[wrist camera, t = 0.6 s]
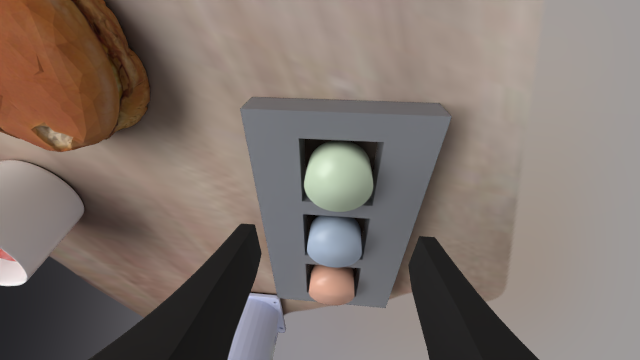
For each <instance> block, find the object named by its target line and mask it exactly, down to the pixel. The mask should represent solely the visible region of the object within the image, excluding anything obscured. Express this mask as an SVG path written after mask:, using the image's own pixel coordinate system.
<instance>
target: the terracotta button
mask: <svg viewBox="0 0 640 360" xmlns="http://www.w3.org/2000/svg"><path fill="white" fill-rule="evenodd" d="M309 294H310V296H311V297H312V298H313V299H314V300H315V301H317V302H319V303H322V304H326V305H343V304H346V303H349V302H350V301H352V300H353V298H354V272H353V270H352V269H351V267H340V268H334V267H327V266H323V265H315V266H314V267H313V268H312V272H311V279H310V287H309Z"/></svg>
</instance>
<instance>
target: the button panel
mask: <svg viewBox="0 0 640 360" xmlns="http://www.w3.org/2000/svg"><path fill="white" fill-rule="evenodd" d="M240 111H241V116H242V121H243V126H244V131H245V136H246V141H247V146H248V151H249V156H250V161H251V166H252V171H253V176H254V181H255V186H256V191H257V196H258V201H259V206H260V211H261V216H262V221H263V226H264V231H265V236H266V241H267V246H268V251H269V256H270V261H271V266H272V271H273V276H274V281H275V286H276V292H277V297H278V298H284V299H294V300H305V301H315V300H314V299H313V298H312V297H311V296H310V294H309V287H310V279H311V274H310V273H309V264H315V265H321V264H319V263H317V262H315V261H314V260H312V259H311V257H310V256H309V255H308V252H307V245H308V239H309V237H308V221H307V214H309V215H324V216H338V217H353V218H365V223H364V229H363V235H362V241H361V246H362V254H361V257H360V259H359V260H358V261H357V262H355V263H354V264H352V265H350V266H346V267H351V268H357V271H356V277H355V278H354V298H353V300H352V301H350V302H349V303H346V304H348V305H358V306H359V305H360V306H369V307H380V308H386V305H387V302H388V299H389V296H390V294H391V291H392V288H393V285H394V282H395V279H396V276H397V273H398V270H399V268H400V265H401V262H402V259H403V256H404V253H405V250H406V247H407V244H408V241H409V239H410V236H411V233H412V230H413V227H414V224H415V221H416V218H417V215H418V213H419V210H420V207H421V204H422V201H423V198H424V195H425V192H426V189H427V187H428V184H429V181H430V178H431V175H432V172H433V169H434V166H435V163H436V161H437V158H438V155H439V152H440V149H441V146H442V143H443V140H444V137H445V134H446V132H447V129H448V126H449V123H450V120H451V117H452V116H451V115H450V114H449V113H448V112H447V111H446V110H445V109H444V108H443V107H442V106H441V104H440V103H415V102H385V101H355V100H326V99H296V98H266V97H251V98H250V99H249V100H248V101H247V102H246V103H245V104H244V105H243V106H242V107H241V108H240ZM304 139H325V140H347V141H369V142H378V144H377V150H376V156H375V162H374V168H373V174H372V178H373V191H372V194H371V196H370V198H369V199H368V200H367V201H366V202H365V203H364V204H363V205H362V206H360V207H358V208H356V209H354V210H350V211H346V212H333V211H328V210H325V209H323V208H320V207H319V206H317V205H316V204H314V203H313V202H312V201H311V200H310V199H309V197H308V196H307V194H306V192H305V188H304V180H305V175H306V170H305V144H304ZM316 302H317V301H316Z"/></svg>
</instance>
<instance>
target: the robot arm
mask: <svg viewBox="0 0 640 360" xmlns="http://www.w3.org/2000/svg"><path fill="white" fill-rule="evenodd" d="M260 258H261V249H260V245H259V241H258V236H257V232H256V228H255V225H253V224H240V225H239V226H238V227H237V228H236V230H235V231H234V232H233V233H232V234H231V235H230V236H229V237H228V239H227V240H226V241H225V242H224V243H223V244H222V245H221V246H220V247H219V248H218V250H217V251H216V252H215V253H214V254H213V255H212V256H211V257H210V258H209V259H208V260H207V261H206V262H205V263H204V264H203V265H202V266H201V267H200V268H199V269H198V270H197V271H196V272H195V273H194V274H193V275H192V276H191V277H190V278H189V279H188V280H187V281H186V282H185V283H184V284H183V285H182V286H181V287H180V288H179V289H177V290H176V291H175V292H174V293H173V294H172V295H171V296H170V297H169V298H167V299H166V300H165V301H164V302H163V303H162V304H160V305H159V306H158V307H157V308H156V309H155V310H153V311H152V312H151V313H150V314H148V315H147V316H146V317H145V318H144V319H142V320H141V321H140V322H138V323H137V324H136V325H135V326H134V327H132V328H131V329H130V330H128V331H127V332H126V333H124V334H123V335H122V336H120V337H119V338H118V339H116V340H115V341H114V342H112V343H111V344H110V345H108V346H107V347H105V348H104V349H102V350H101V351H100V352H98V353H97V354H95V355H94V356H93V357H91V358H90V359H88V360H272V359H273V354H274V350H275V345H276V340H277V335H278V332H281V333H284V332H285V330H286V327H285V323H284V316H283V311H282V306H281V300H280V298H278V297H277V295H267V294H257V293H250V292H251V289H252V286H253V283H254V281H255V278H256V274H257V271H258V267H259V262H260ZM408 266H409V274H410V281H411V287H412V292H413V296H414V300H415V304H416V308H417V312H418V316H419V320H420V323H421V327H422V331H423V334H424V339H425V342H426V346H427V350H428V355H429V359H430V360H539V359H538V358H537V357H536V356H535V355H534V354H533V353H532V352H531V351H530V350H529V349H528V348H527V347H526V346H525V345H524V344H523V343H522V342H521V341H520V340H519V339H518V338H517V337H516V336H515V335H514V334H513V332H511V331H510V329H509V328H508V327H507V326H506V325H505V324H504V323H503V322H502V321H501V319H499V317H498V316H497V315H496V314H495V313H494V311H493V310H492V309H491V308H490V307H489V306H488V305H487V303H486V302H485V301H484V300H483V299H482V298H481V296H480V295H479V294H478V293H477V292H476V290H475V289H474V288H473V287H472V285H471V284H470V283H469V282H468V280H467V279H466V278H465V277H464V275H463V274H462V273H461V272H460V270H459V269H458V268H457V266H456V265H455V264H454V262H453V261H452V260H451V258H450V257H449V256H448V254H447V253H446V252H445V250H444V249H443V248H442V246H441V245H440V244H439V242H438V241H437V240H436V238H435V237H423V236H419V239H418V241H417V244H416V247H415V249H414V252H413V255H412V257H411V260H410V263H409V265H408Z"/></svg>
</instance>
